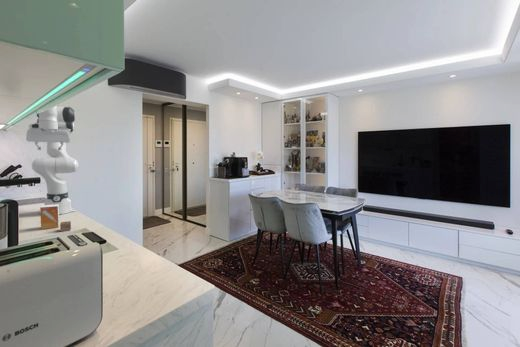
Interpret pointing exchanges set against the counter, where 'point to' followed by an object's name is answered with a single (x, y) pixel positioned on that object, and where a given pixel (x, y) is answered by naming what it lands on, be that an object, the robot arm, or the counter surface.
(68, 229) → the walnut cube
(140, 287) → the counter surface
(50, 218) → the small box
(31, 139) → the robot arm
